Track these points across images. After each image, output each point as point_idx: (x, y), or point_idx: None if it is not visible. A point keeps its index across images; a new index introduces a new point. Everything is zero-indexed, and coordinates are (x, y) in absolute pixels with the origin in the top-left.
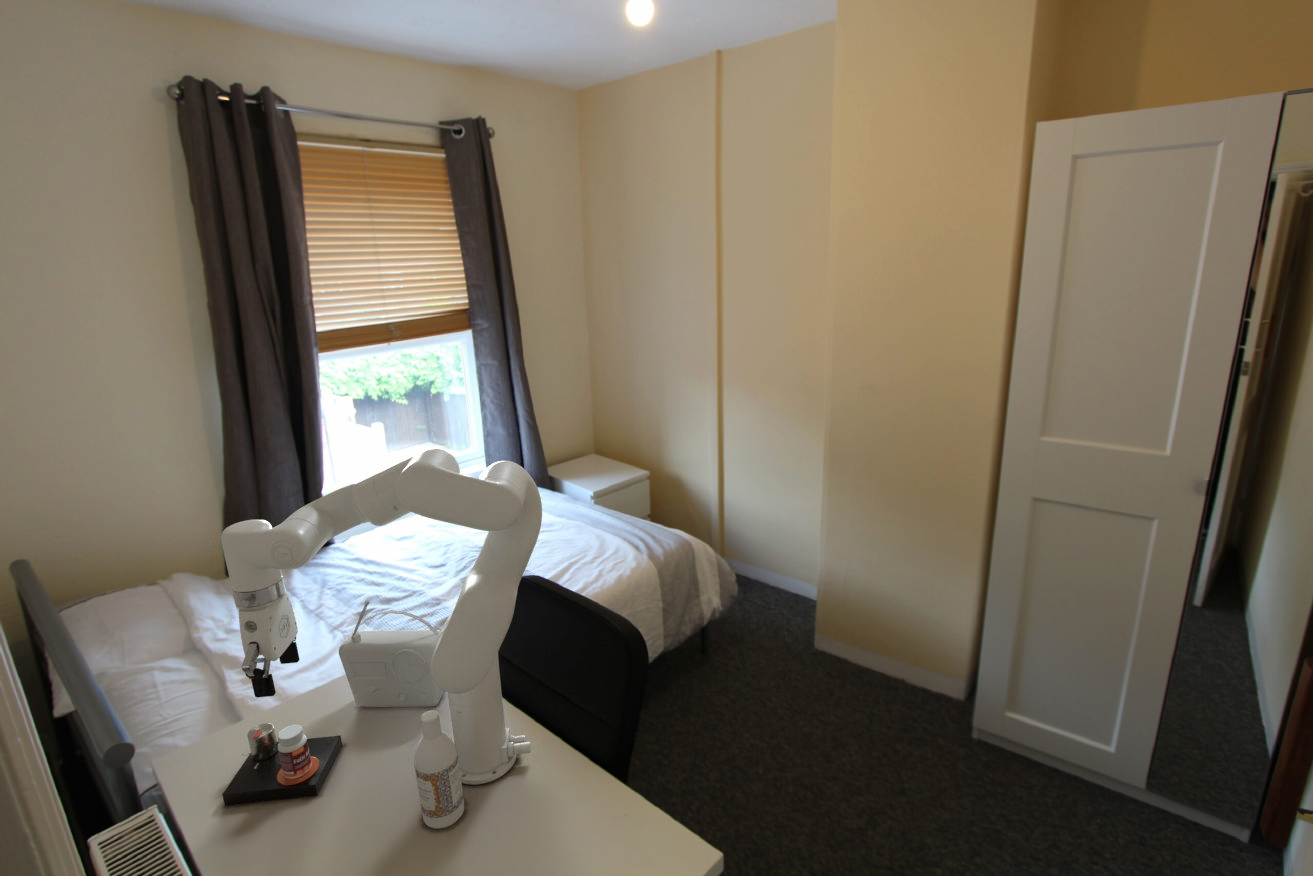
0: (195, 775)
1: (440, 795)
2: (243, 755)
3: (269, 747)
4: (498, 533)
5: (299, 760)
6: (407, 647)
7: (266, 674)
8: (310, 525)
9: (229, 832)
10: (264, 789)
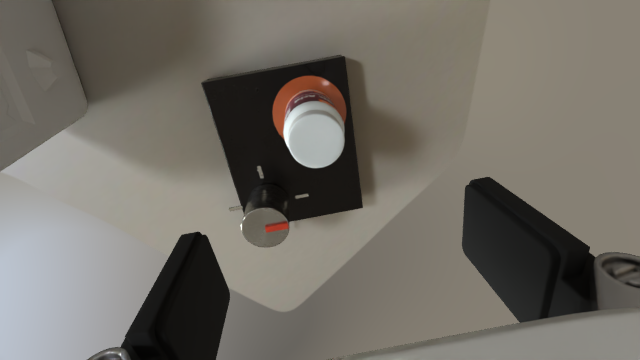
0: (300, 272)
1: None
2: None
3: (276, 195)
4: None
5: (330, 102)
6: None
7: (625, 273)
8: None
9: (407, 158)
10: (354, 148)
